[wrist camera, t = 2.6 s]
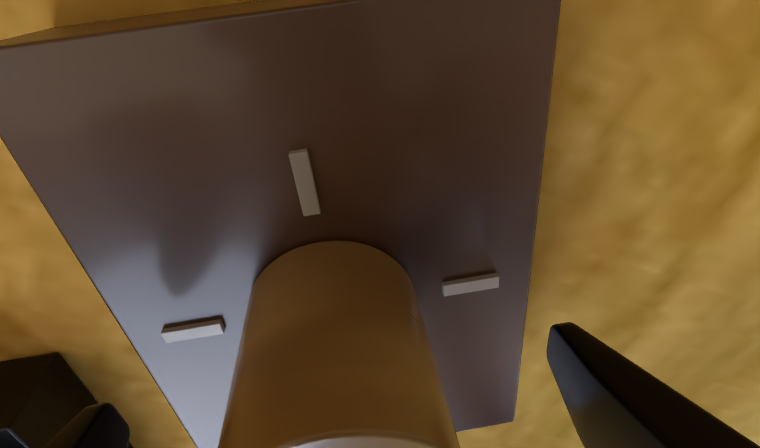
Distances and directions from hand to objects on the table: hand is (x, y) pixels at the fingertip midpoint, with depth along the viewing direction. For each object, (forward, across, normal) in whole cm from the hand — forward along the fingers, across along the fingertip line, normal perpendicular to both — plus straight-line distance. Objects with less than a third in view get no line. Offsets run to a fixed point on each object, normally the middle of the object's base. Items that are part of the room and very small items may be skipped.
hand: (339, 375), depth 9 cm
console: (+5, 0, 0) cm, 5 cm away
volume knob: (+2, 0, 0) cm, 2 cm away
